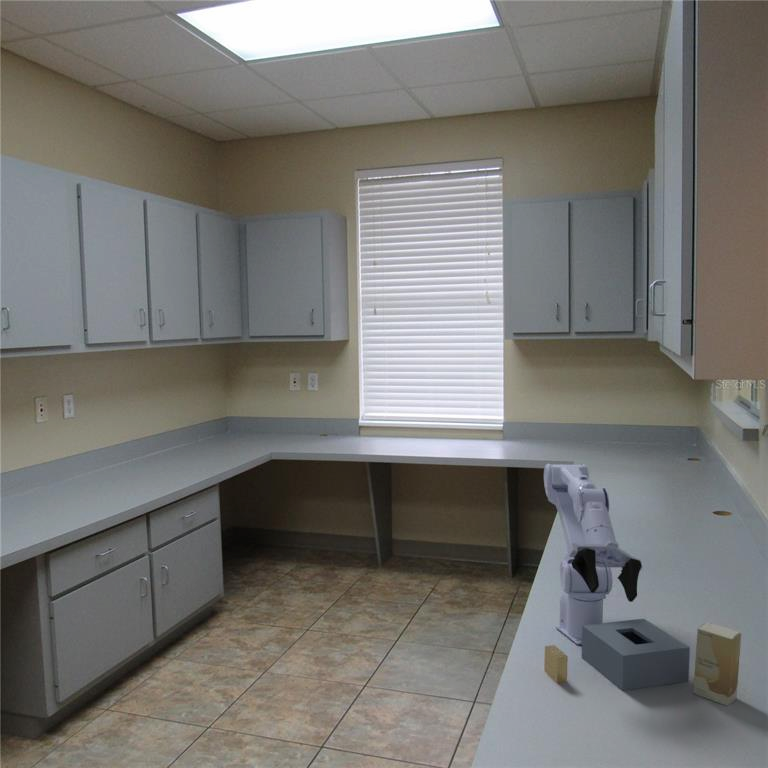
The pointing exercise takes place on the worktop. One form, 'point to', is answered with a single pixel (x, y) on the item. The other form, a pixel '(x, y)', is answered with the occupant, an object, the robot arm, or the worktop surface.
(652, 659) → the slot box
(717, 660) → the skincare box
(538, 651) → the worktop surface
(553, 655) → the block
